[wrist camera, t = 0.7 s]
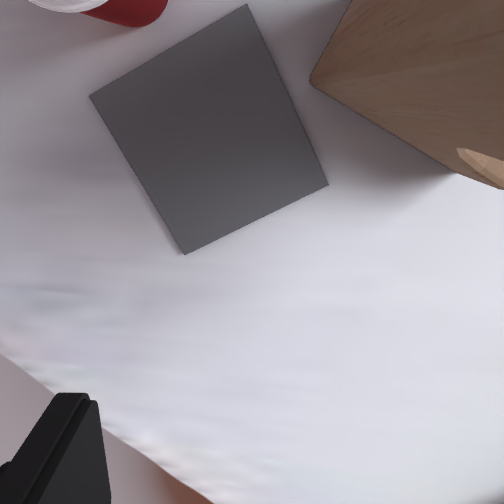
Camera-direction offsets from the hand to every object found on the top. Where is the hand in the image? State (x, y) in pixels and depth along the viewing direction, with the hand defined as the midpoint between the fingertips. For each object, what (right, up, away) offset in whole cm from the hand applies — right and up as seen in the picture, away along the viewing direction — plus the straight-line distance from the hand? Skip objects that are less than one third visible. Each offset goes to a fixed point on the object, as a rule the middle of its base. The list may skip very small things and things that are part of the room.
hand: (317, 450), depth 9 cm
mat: (-5, +13, +26) cm, 30 cm away
